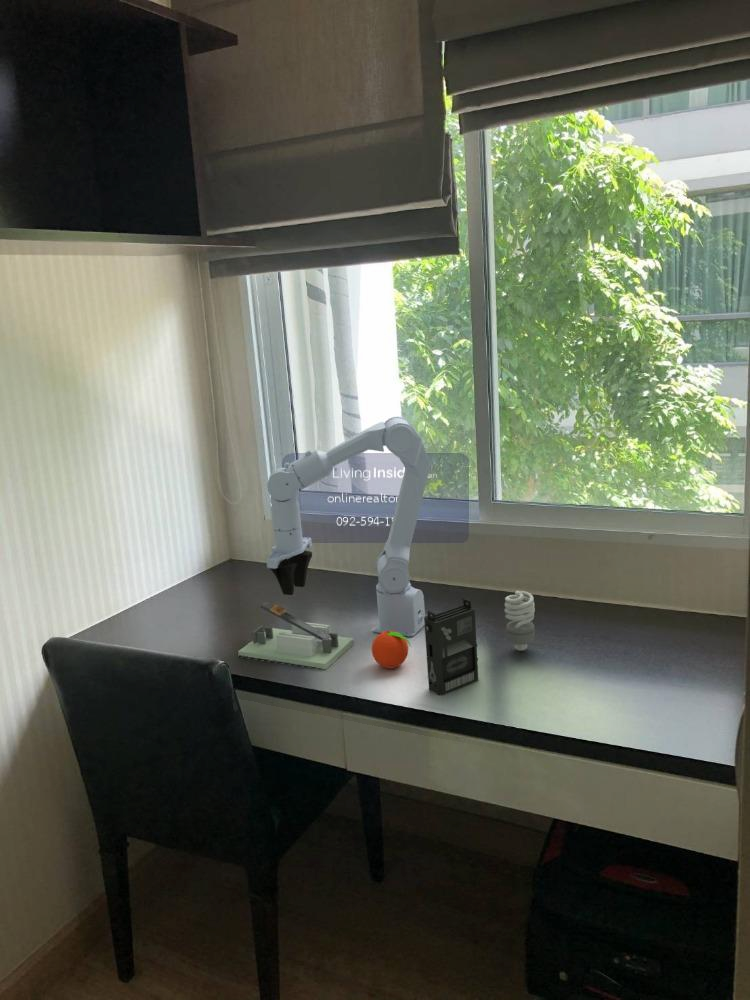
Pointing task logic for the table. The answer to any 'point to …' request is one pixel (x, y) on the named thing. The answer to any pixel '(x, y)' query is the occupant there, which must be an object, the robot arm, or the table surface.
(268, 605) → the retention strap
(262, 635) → the heatsink board
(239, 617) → the table surface
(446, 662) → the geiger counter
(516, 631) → the light bulb
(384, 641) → the clementine
